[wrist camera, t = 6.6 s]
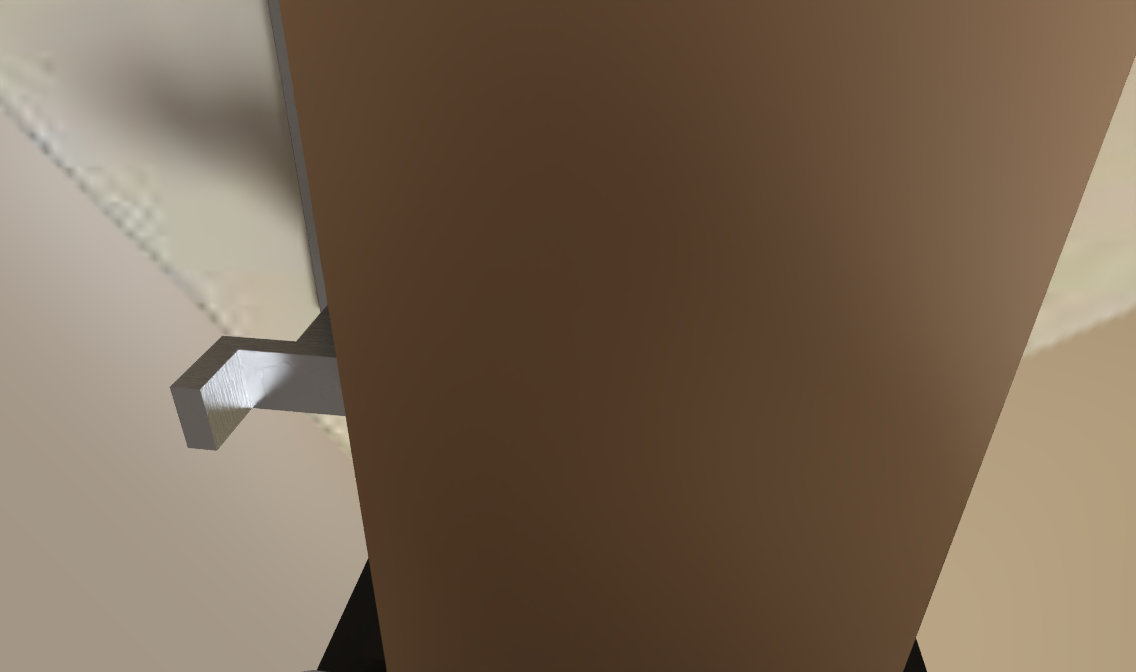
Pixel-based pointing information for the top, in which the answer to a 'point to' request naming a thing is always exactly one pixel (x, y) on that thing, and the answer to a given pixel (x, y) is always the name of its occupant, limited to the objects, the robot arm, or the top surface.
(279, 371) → the stand
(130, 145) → the top surface
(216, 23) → the top surface
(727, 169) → the rail
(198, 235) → the top surface
